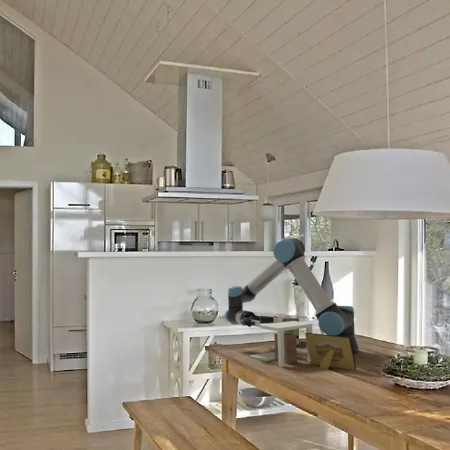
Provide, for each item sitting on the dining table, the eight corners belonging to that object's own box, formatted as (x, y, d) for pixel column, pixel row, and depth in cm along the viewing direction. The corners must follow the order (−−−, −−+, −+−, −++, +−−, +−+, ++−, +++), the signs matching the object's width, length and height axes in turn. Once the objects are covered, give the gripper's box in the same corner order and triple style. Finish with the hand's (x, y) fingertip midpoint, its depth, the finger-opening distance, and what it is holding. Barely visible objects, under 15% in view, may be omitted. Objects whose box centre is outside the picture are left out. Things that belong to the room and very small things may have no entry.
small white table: (261, 362, 288) (260, 325, 289) (294, 356, 299) (293, 320, 299) (280, 367, 276) (279, 328, 276) (314, 361, 287) (313, 324, 287)
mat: (249, 357, 302) (249, 355, 302) (272, 353, 309) (272, 351, 309) (266, 361, 290) (266, 359, 290) (289, 357, 297) (289, 356, 297)
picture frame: (356, 369, 267) (353, 335, 266) (345, 375, 261) (342, 340, 260) (312, 363, 283) (309, 331, 282) (301, 368, 276) (298, 336, 275)
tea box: (300, 345, 331) (299, 317, 332) (281, 345, 331) (280, 318, 332) (297, 340, 346) (296, 314, 347) (279, 340, 347) (278, 314, 347)
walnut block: (275, 360, 291) (274, 333, 291) (285, 359, 294) (284, 332, 294) (287, 363, 283) (286, 335, 283) (297, 362, 286) (296, 334, 287)
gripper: (265, 323, 322) (291, 328, 304) (225, 327, 308) (250, 333, 291) (265, 309, 322) (290, 312, 304) (225, 312, 309) (249, 317, 291)
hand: (271, 322), depth 297 cm, fingers open, 13 cm apart
